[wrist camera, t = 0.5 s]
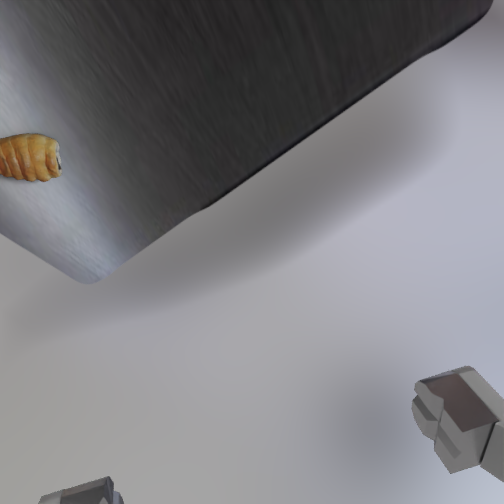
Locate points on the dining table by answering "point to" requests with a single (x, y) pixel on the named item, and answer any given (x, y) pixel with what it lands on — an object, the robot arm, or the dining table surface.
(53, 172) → the pastry
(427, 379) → the robot arm
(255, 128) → the dining table surface
